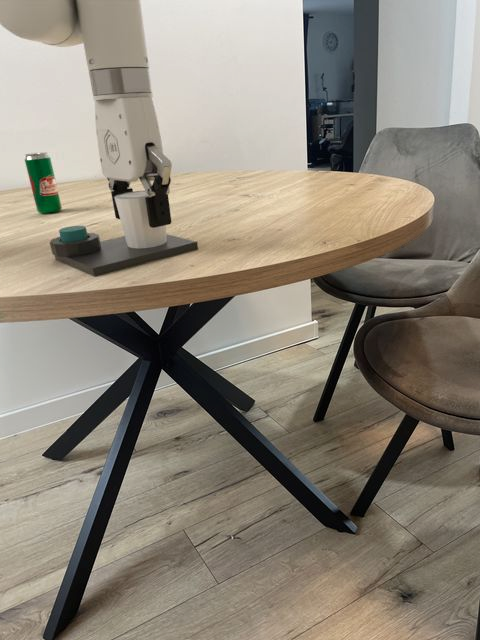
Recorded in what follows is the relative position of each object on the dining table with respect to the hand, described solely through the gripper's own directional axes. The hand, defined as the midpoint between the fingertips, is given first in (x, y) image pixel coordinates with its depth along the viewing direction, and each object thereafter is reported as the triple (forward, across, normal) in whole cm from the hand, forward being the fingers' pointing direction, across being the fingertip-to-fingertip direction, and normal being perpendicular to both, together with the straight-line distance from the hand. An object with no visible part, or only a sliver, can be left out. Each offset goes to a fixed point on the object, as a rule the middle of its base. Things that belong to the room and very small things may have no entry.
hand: (142, 221), depth 73 cm
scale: (+4, -1, -3) cm, 5 cm away
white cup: (+3, 0, 0) cm, 3 cm away
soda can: (+5, -49, +4) cm, 49 cm away
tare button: (+2, -5, -8) cm, 10 cm away
